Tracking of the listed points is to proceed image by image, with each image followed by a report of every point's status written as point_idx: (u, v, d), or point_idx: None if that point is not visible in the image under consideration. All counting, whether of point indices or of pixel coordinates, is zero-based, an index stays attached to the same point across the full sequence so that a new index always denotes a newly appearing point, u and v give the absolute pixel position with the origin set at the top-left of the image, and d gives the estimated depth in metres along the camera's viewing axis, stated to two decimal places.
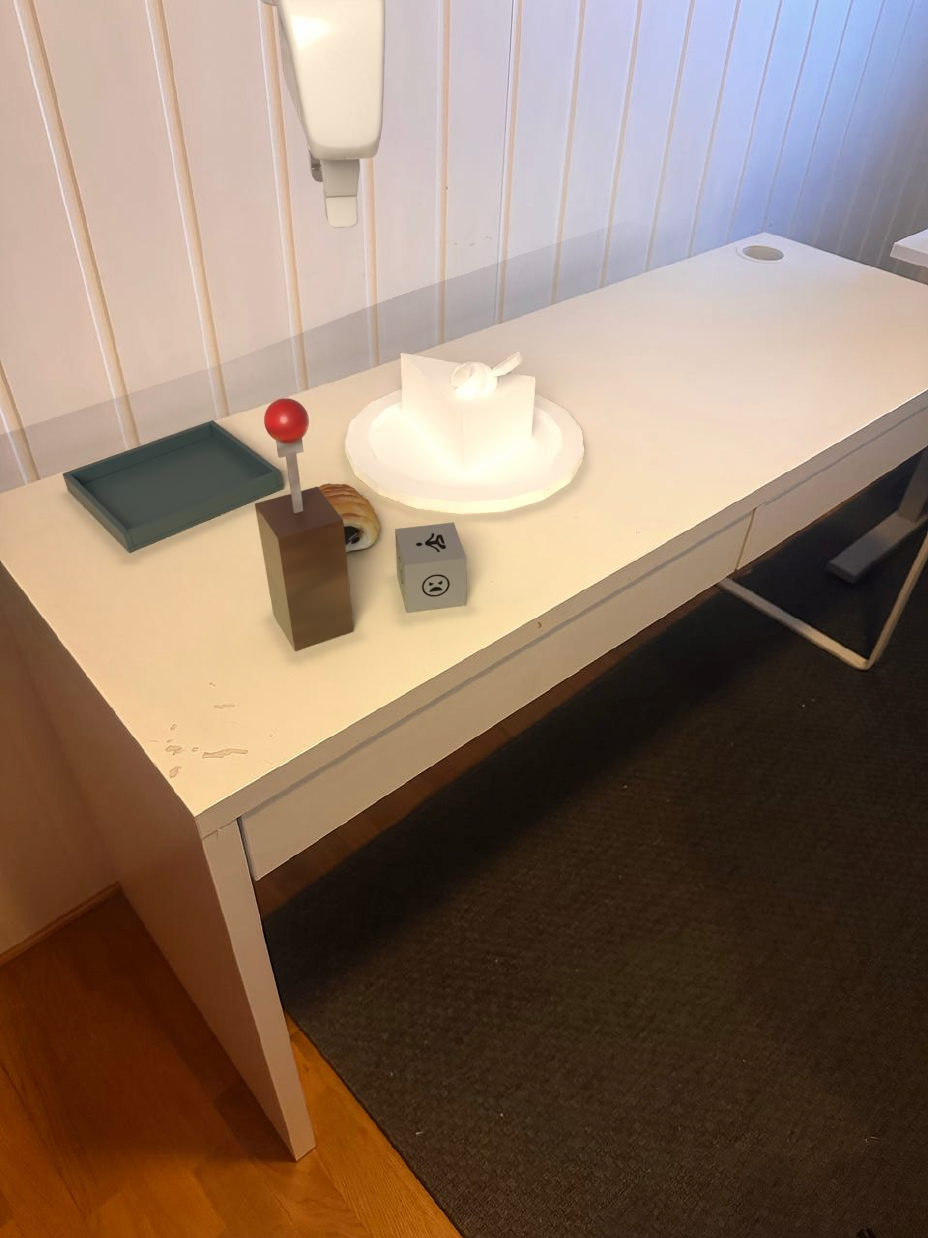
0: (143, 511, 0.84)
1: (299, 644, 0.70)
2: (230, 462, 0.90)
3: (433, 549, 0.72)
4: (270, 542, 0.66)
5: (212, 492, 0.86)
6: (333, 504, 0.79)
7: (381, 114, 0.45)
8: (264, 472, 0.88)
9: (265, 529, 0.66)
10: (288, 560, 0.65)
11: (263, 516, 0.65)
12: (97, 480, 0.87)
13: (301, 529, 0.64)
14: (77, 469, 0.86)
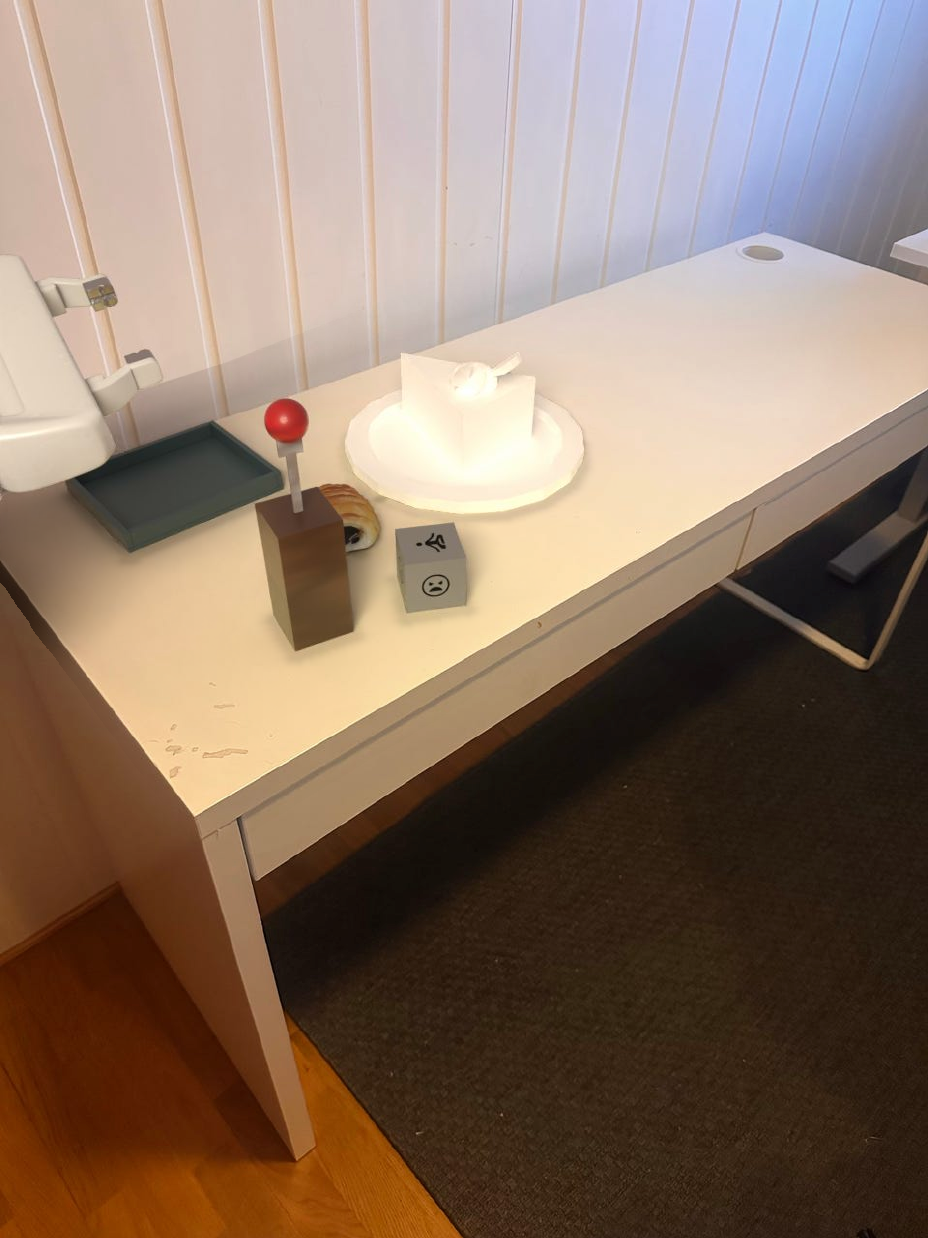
0: (143, 511, 0.84)
1: (299, 644, 0.70)
2: (230, 462, 0.90)
3: (433, 549, 0.72)
4: (270, 542, 0.66)
5: (212, 492, 0.86)
6: (333, 504, 0.79)
7: (66, 426, 0.53)
8: (264, 472, 0.88)
9: (265, 529, 0.66)
10: (288, 560, 0.65)
11: (263, 516, 0.65)
12: (97, 480, 0.87)
13: (301, 529, 0.64)
14: None
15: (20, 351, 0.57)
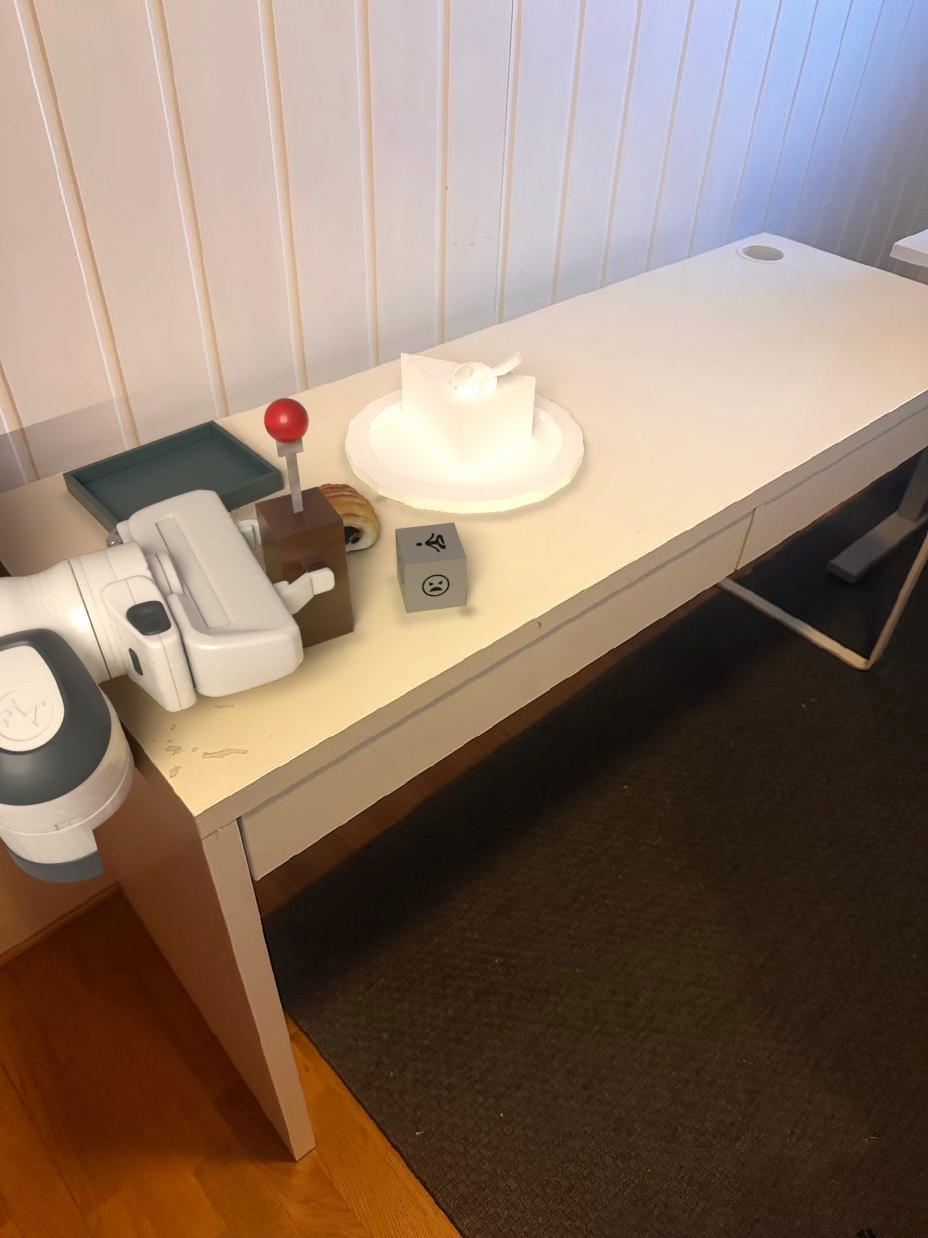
0: None
1: None
2: (230, 462, 0.90)
3: (433, 549, 0.72)
4: (270, 542, 0.66)
5: None
6: (333, 504, 0.79)
7: (270, 637, 0.58)
8: (264, 472, 0.88)
9: (265, 529, 0.66)
10: (288, 560, 0.65)
11: (263, 516, 0.65)
12: (97, 480, 0.87)
13: (301, 529, 0.64)
14: (77, 469, 0.86)
15: (222, 572, 0.64)
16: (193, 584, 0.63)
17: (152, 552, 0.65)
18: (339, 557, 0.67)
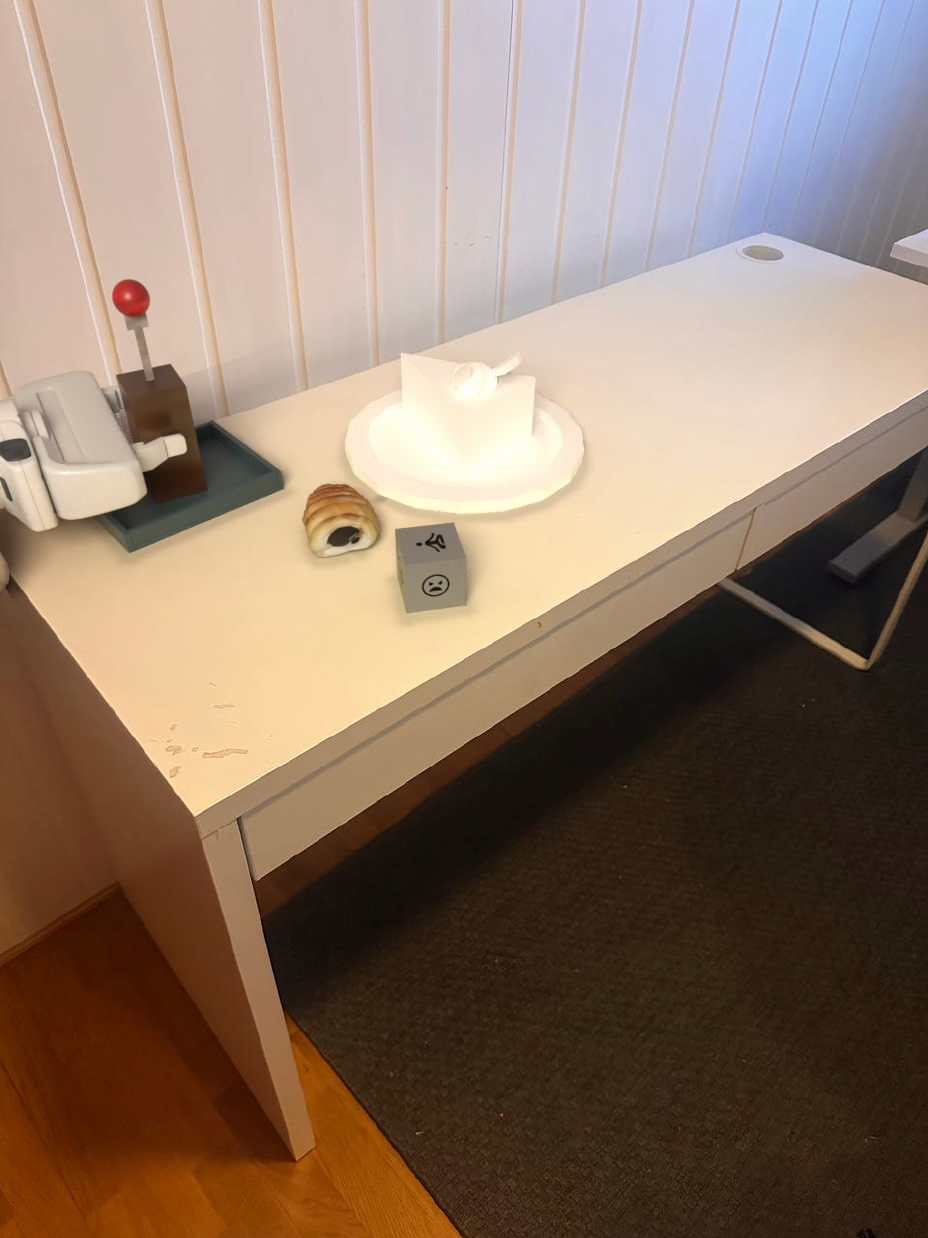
0: (143, 511, 0.84)
1: (159, 497, 0.84)
2: (230, 462, 0.90)
3: (433, 549, 0.72)
4: (127, 405, 0.80)
5: (212, 492, 0.86)
6: (333, 504, 0.79)
7: (113, 467, 0.72)
8: (264, 472, 0.88)
9: (123, 395, 0.80)
10: (140, 419, 0.79)
11: (120, 383, 0.79)
12: None
13: (149, 392, 0.78)
14: None
15: (84, 425, 0.78)
16: (59, 434, 0.77)
17: None
18: (186, 420, 0.81)
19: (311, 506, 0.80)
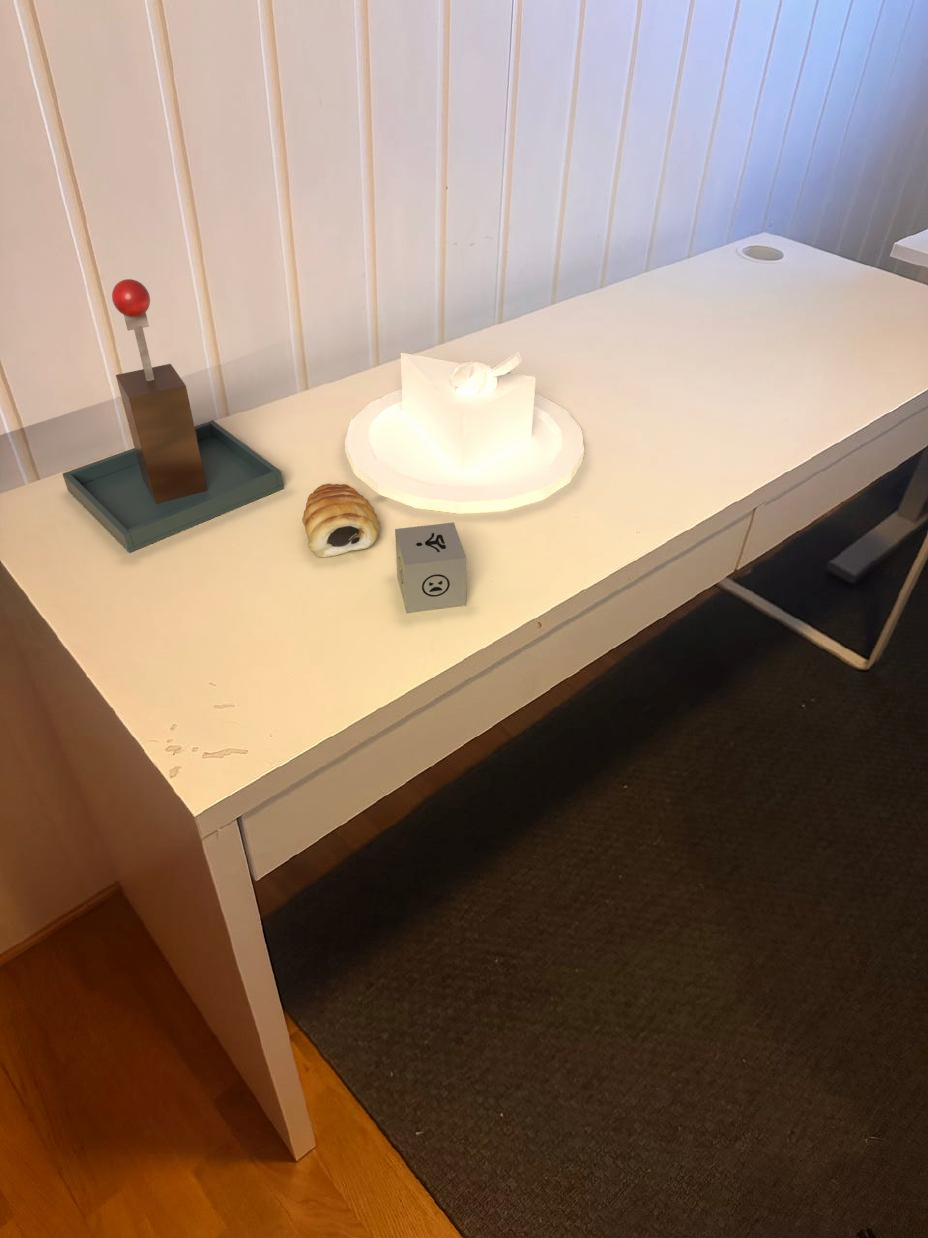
0: (143, 511, 0.84)
1: (159, 497, 0.84)
2: (230, 462, 0.90)
3: (433, 549, 0.72)
4: (127, 405, 0.80)
5: (212, 492, 0.86)
6: (333, 504, 0.79)
7: None
8: (264, 472, 0.88)
9: (123, 395, 0.80)
10: (140, 419, 0.79)
11: (120, 383, 0.79)
12: (97, 480, 0.87)
13: (149, 392, 0.78)
14: (77, 469, 0.86)
15: None
16: None
17: None
18: (186, 420, 0.81)
19: (311, 506, 0.80)
